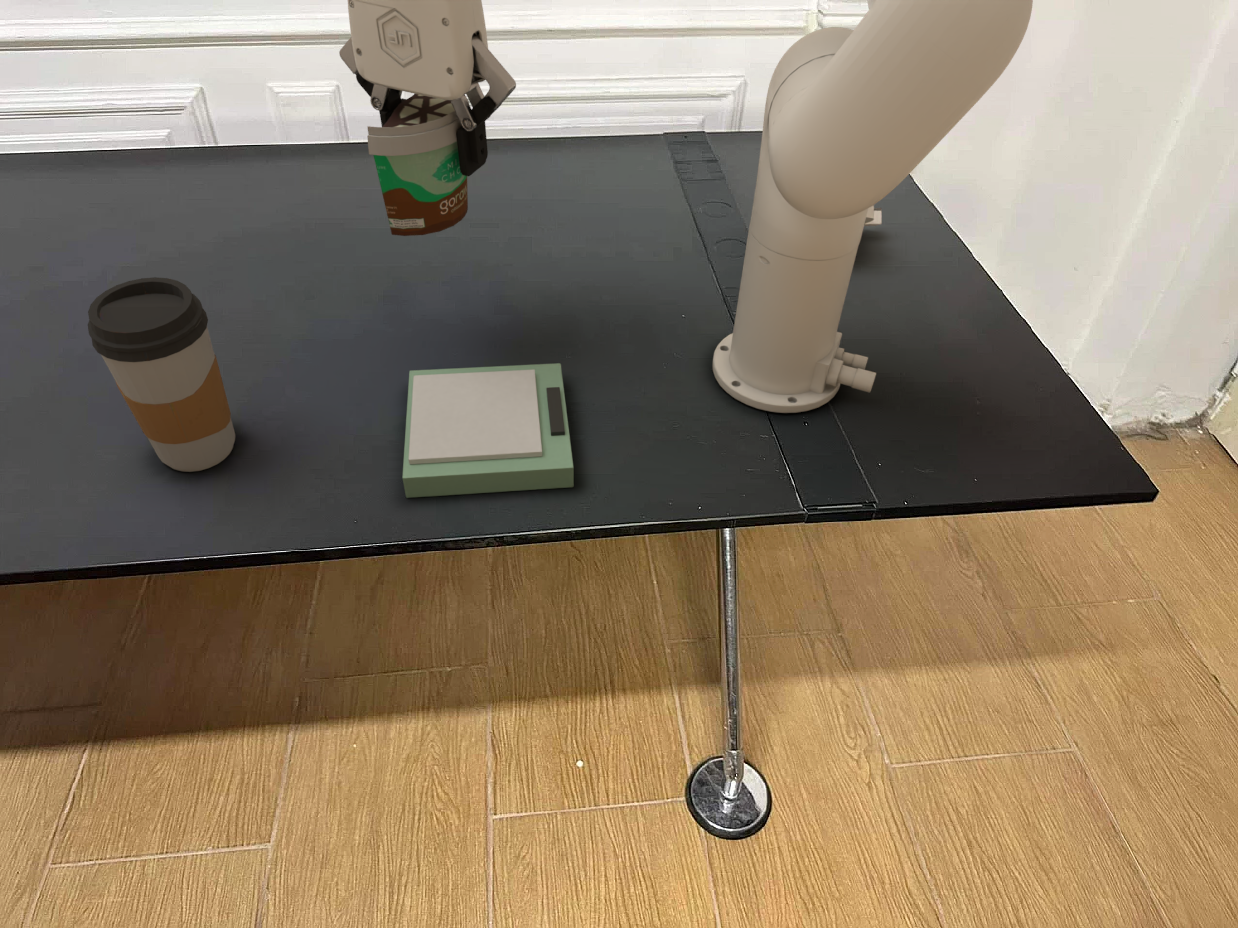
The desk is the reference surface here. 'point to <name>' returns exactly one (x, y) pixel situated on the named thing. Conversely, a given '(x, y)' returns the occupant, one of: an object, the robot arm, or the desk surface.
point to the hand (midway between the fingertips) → (436, 158)
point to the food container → (420, 166)
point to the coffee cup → (165, 369)
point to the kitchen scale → (486, 431)
